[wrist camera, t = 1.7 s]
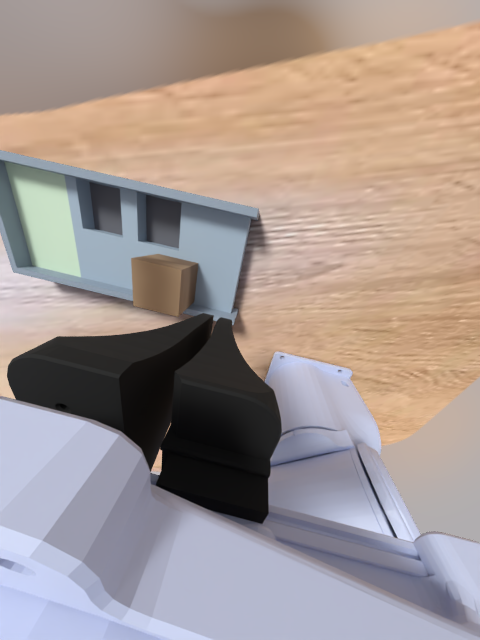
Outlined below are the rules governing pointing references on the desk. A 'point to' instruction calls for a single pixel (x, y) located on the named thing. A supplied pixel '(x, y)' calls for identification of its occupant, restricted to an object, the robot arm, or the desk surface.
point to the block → (163, 283)
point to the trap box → (117, 230)
